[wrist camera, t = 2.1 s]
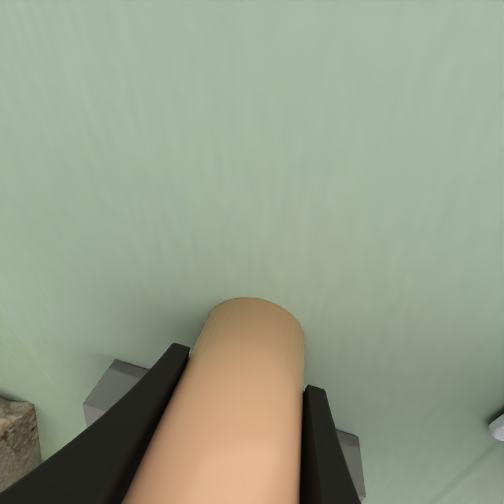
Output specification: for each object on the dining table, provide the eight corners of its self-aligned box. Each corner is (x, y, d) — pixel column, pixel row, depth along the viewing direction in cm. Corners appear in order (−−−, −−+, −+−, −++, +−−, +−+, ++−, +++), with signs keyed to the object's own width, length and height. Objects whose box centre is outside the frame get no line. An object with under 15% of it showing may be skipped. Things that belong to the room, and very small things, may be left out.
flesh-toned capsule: (320, 317, 11) (328, 651, 5) (288, 381, 14) (263, 662, 7) (212, 284, 12) (72, 559, 5) (200, 353, 14) (94, 600, 7)
